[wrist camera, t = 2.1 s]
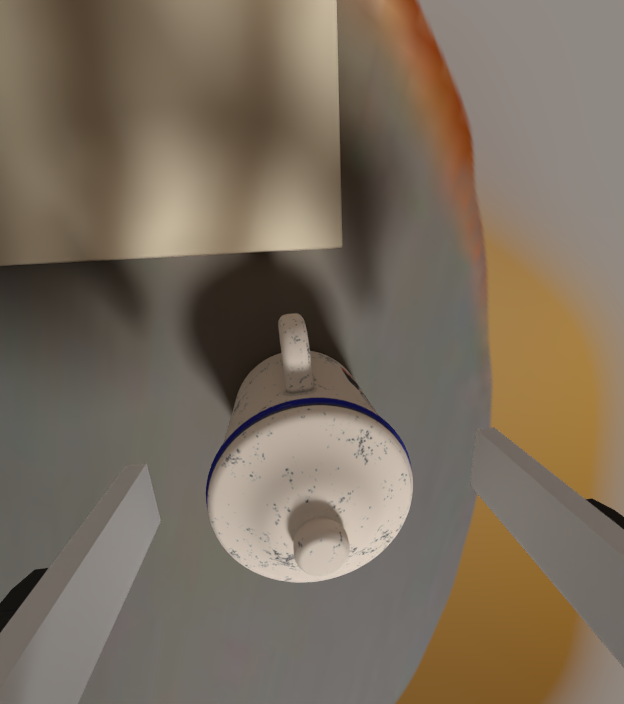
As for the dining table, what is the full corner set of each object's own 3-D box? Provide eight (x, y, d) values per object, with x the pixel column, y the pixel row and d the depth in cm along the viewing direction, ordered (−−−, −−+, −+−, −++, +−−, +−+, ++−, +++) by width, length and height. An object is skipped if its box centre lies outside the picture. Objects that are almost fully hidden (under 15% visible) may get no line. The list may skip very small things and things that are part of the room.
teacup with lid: (364, 453, 23) (445, 626, 12) (243, 472, 23) (213, 673, 12) (356, 293, 20) (459, 333, 9) (213, 308, 19) (129, 373, 8)
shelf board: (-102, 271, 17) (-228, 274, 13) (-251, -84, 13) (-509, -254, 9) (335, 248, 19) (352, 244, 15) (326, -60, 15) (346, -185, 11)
